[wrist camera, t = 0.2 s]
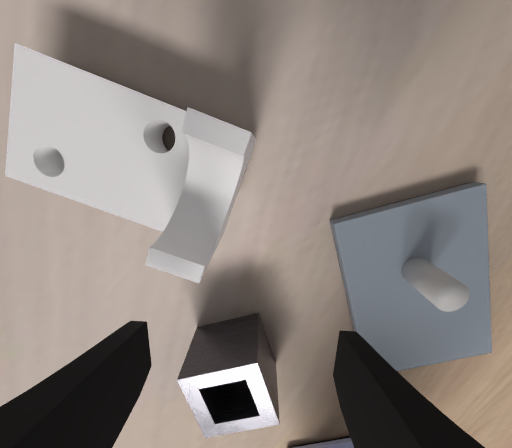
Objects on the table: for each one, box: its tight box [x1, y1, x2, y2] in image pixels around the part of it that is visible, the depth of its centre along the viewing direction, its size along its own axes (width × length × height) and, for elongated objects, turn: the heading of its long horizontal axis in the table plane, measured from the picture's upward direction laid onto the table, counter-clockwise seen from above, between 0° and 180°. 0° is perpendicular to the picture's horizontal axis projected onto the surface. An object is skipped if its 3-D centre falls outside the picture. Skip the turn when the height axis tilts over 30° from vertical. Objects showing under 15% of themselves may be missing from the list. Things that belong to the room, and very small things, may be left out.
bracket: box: [5, 43, 256, 283], centre depth 14 cm, size 13×7×8 cm, turn 69°
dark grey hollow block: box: [177, 313, 280, 438], centre depth 19 cm, size 6×6×5 cm
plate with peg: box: [330, 182, 492, 371], centre depth 17 cm, size 14×10×4 cm
